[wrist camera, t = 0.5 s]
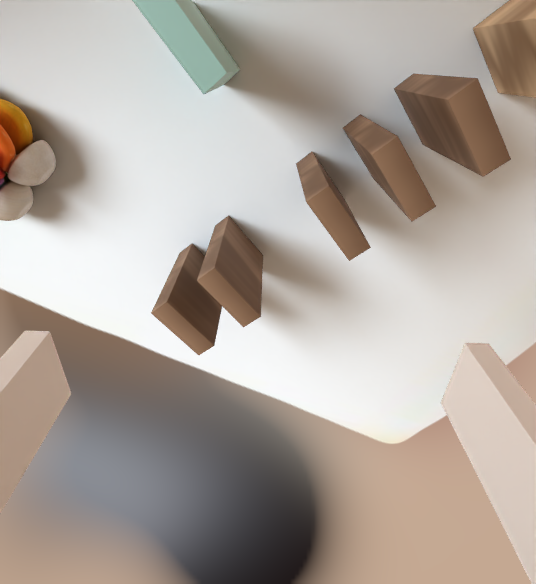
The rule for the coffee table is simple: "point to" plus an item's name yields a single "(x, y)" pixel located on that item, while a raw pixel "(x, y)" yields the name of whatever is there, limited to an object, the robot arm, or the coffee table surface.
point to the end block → (511, 47)
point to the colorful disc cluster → (20, 162)
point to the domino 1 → (189, 303)
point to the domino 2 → (233, 272)
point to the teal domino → (190, 41)
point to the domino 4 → (390, 166)
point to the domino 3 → (331, 207)
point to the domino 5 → (454, 120)
